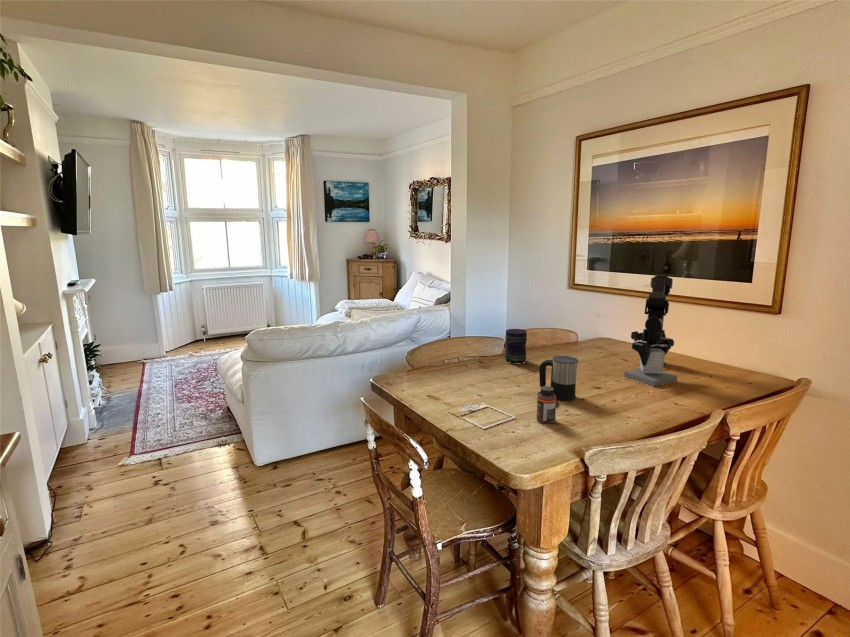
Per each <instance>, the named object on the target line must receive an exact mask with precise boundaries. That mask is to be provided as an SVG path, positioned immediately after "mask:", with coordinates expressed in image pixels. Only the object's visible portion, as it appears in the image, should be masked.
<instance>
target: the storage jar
mask: <svg viewBox="0 0 850 637" xmlns="http://www.w3.org/2000/svg"><path fill="white" fill-rule="evenodd" d="M527 333H528V332H527V330H526V329H522V328H508V329H506V330H505V352H504V353H505V354H504V357H505V360H506V361H507V362H511V363H523V362H525V361H526V360H527V358H526V357H527V350H526V349H527V347H526V346H527V340H528V338H527ZM526 362H527V361H526Z"/></svg>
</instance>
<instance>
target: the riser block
mask: <svg viewBox="0 0 850 637" xmlns="http://www.w3.org/2000/svg"><path fill="white" fill-rule="evenodd" d="M623 377H624V378H625V377H627V378H626V379H628V378H629V379H628V380H631V379H633V380H632V381H634V380H636V381H635V382H637V381H639V382H638V383H640V382H642V383H641V384H643V383H644V384H643V385H646V384H648V385H647V386H649V385H651V386H650V387H652V386H653V387H652V388H655V387H654V386H657V387H659V386H658V385H661V386H663V385H662V384H665V385H667V384H666V383H669V384H671V383H670V382H673V383H675V382H674V381H678V375H676V374H673V373H669V372H665V371H663V372H652V371H642V370H641V369H640V367H639V368H635V369H631V370H626V371H624V376H623Z"/></svg>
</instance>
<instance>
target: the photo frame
mask: <svg viewBox="0 0 850 637" xmlns="http://www.w3.org/2000/svg"><path fill="white" fill-rule="evenodd" d="M482 404H484V405H480V406H478V405H472V406H468V407H465V408H462V409H459V410H460V411H462V412H465V411H468V410H472V409H473V410H475V409H476V410H477V409H481V408H484V407H487V406H489V407H491V408H493V409H496V410H497V411H496V412H498V411H499V412H498V413H500V412H502V413H504V414H506V415H505V416H507V415H508V416H507V417H509V416H510V417H509V418H506V419H503V420H500V421H497V422H495V423H492V424H490V425H486V426H483V425H480V424H479V423H476V422H474V421H472V420H470V419H469V418H466V417H464V418H465V419H466V420H468V421H469V422H471V423H473V424H475V425H477V426H479V427H481V428H483V429H486V428H488V429H490V428H489V427H491V426H494V427H496V426H495V425H497V424H499V425H501V424H500V423H502V424H504V423H503V422H505V423H507V422H506V421H508V422H509V420H510V421H513V420H515V418H516V419H517V417H516V416H515V415H512V414H510V413H507V412H505V411H503V410H501V409H498V408H496V407H493V406H491V405H489V404H486V403H484V402H482ZM485 404H486V405H485ZM491 408H490V409H491ZM493 409H492V410H493ZM473 410H472V411H473ZM481 410H482V409H481ZM470 412H471V411H470ZM467 413H468V412H467ZM502 413H501V414H502ZM504 414H503V415H504ZM512 419H513V420H512ZM469 422H468V423H469ZM471 423H470V424H471ZM473 424H472V425H473ZM475 425H474V426H475ZM477 426H476V427H477ZM497 426H498V425H497ZM479 427H478V428H479ZM481 428H480V429H481ZM491 428H492V427H491ZM483 429H482V430H483ZM486 430H487V429H486Z"/></svg>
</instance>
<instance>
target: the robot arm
mask: <svg viewBox="0 0 850 637" xmlns="http://www.w3.org/2000/svg"><path fill="white" fill-rule="evenodd" d="M650 279H651V280H650V288H651V289H652V290H651V291H652V292H651V293H649V294H648V297H647V298H646V300H645V306H644V307H645V308H644V315H647V319H646V320H645V323H644V327H645V328H644V329H643V331H642V332H638V331H631V335H630V338H631V340H633V342H632V344H631V350H634V351H635V352H636V353H638V355H639V359H640V358H641V362H642V365H643V366H646V364H647V361H648V358H649V356H650V353H651V351H650V349H661V350H663V351H664V352H665V356H666V355H667V353H668V352H669V351H670V349H672V347H674V346H675V340H674V338H669V337H667V334H666V333H665V329H664V320H665V316H667V314H669V309H670V303H669V301H668V299H667V297H668V295H669V294H670V293H671V289H673V278H671V277H669V276H668V275H665V274H663V275H662V274H657V275H654V277H651V278H650ZM665 364H666V362H665V361H664V365H665Z"/></svg>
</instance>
